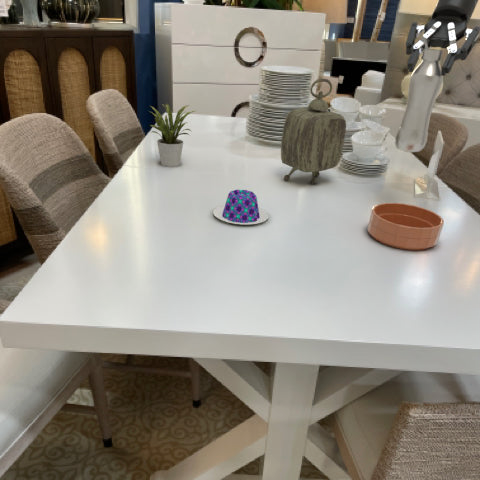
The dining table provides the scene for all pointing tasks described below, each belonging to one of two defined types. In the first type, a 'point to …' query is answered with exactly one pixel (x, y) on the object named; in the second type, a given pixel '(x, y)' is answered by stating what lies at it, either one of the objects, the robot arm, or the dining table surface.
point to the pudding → (241, 209)
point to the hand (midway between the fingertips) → (426, 70)
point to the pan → (405, 226)
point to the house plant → (170, 136)
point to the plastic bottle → (420, 102)
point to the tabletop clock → (313, 137)
